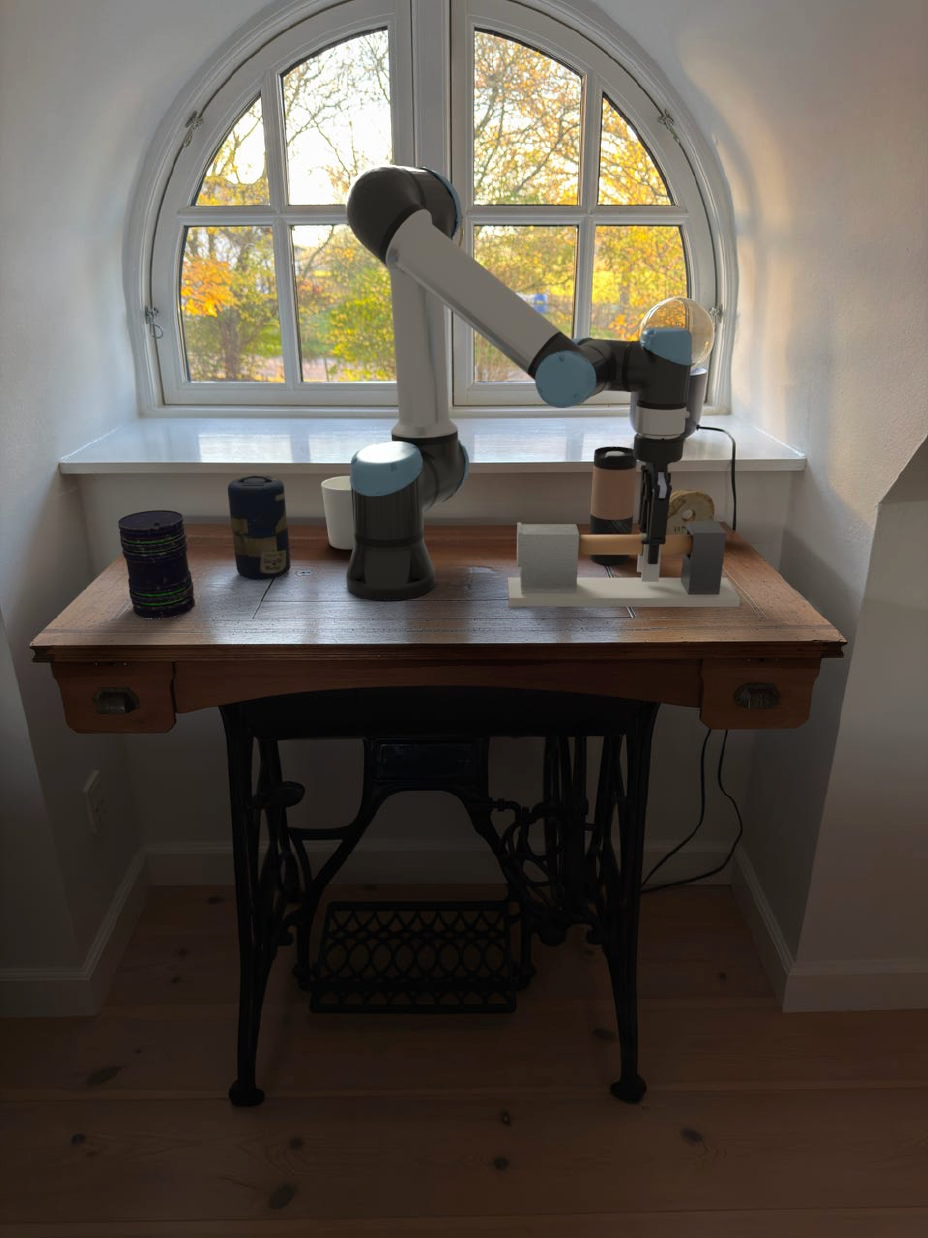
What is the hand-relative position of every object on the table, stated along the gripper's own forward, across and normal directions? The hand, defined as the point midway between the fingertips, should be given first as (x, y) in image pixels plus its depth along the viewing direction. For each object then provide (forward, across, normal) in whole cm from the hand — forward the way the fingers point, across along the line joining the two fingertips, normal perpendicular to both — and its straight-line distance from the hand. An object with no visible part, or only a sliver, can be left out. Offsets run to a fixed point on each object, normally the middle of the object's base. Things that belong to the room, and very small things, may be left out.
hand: (647, 575), depth 146 cm
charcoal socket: (+2, 0, -9) cm, 9 cm away
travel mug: (+4, +18, +4) cm, 19 cm away
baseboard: (+4, 0, +4) cm, 6 cm away
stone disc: (+4, +29, -12) cm, 32 cm away
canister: (+4, +10, +66) cm, 67 cm away
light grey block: (+2, 0, +17) cm, 17 cm away
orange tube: (-4, 0, +2) cm, 4 cm away
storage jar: (+4, -5, +79) cm, 79 cm away
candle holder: (+4, +27, +53) cm, 59 cm away
